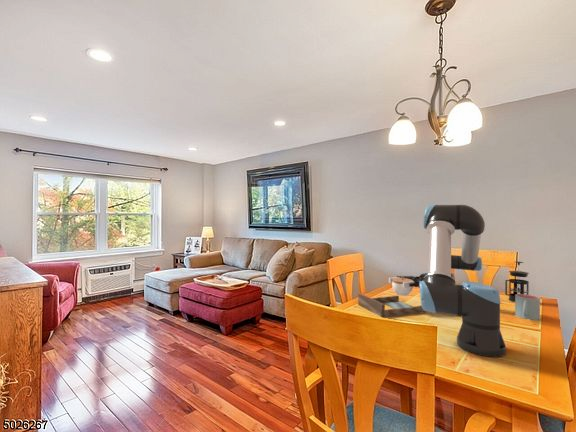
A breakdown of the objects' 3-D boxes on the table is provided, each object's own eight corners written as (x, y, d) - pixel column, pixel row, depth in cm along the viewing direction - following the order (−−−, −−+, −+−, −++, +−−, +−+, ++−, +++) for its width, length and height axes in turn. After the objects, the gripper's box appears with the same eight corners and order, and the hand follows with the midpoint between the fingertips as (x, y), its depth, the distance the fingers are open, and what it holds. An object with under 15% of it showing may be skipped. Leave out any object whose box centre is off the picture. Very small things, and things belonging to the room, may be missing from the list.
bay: (397, 300, 168) (397, 290, 168) (425, 312, 148) (425, 300, 148) (358, 304, 160) (358, 293, 160) (381, 317, 140) (382, 304, 140)
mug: (516, 312, 148) (516, 293, 149) (540, 317, 142) (540, 296, 142) (512, 319, 139) (512, 298, 139) (537, 324, 132) (537, 302, 132)
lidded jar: (415, 297, 150) (415, 279, 150) (393, 296, 152) (393, 278, 152) (410, 292, 161) (410, 275, 161) (390, 291, 163) (390, 274, 163)
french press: (526, 299, 173) (526, 261, 173) (533, 304, 164) (533, 263, 164) (502, 297, 176) (502, 259, 176) (508, 302, 167) (509, 262, 167)
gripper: (446, 291, 151) (411, 295, 144) (413, 282, 173) (382, 284, 166) (446, 277, 151) (411, 280, 144) (414, 269, 173) (382, 271, 166)
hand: (396, 282), depth 155 cm, fingers closed on lidded jar, 11 cm apart
